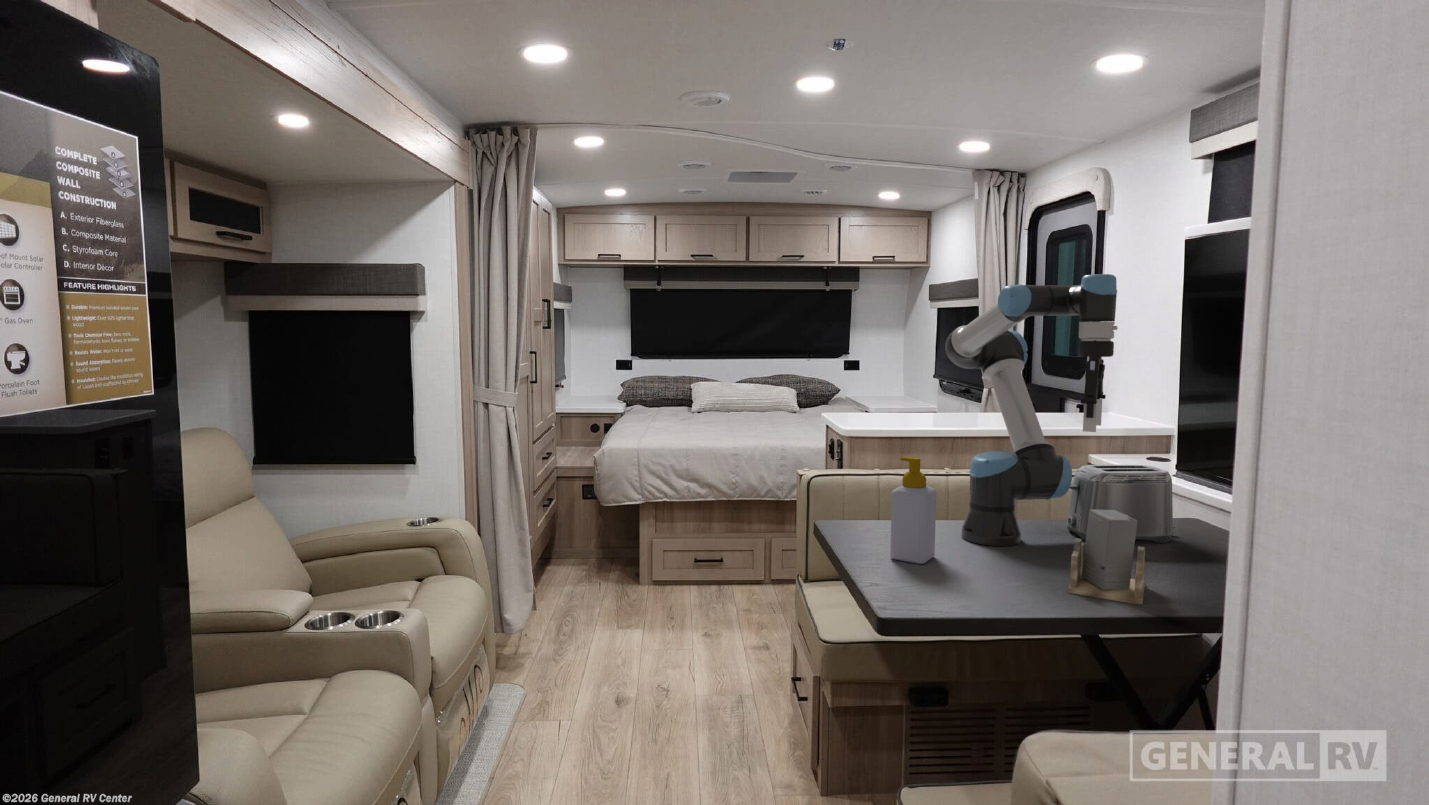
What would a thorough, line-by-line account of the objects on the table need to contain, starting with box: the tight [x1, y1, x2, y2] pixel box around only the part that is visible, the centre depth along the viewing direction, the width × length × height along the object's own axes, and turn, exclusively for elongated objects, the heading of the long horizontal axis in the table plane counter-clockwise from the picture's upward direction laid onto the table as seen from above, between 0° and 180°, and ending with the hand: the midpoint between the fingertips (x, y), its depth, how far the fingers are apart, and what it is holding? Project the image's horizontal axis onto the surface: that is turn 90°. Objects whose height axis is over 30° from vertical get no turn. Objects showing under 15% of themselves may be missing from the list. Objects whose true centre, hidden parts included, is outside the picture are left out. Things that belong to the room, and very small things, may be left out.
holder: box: [1067, 537, 1146, 606], centre depth 164 cm, size 14×14×10 cm
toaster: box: [1065, 464, 1176, 544], centre depth 205 cm, size 17×30×19 cm, turn 87°
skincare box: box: [1081, 509, 1137, 590], centre depth 164 cm, size 8×7×16 cm
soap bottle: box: [889, 456, 937, 565], centre depth 186 cm, size 9×9×25 cm
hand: (1092, 428), depth 181 cm, fingers open, 13 cm apart
